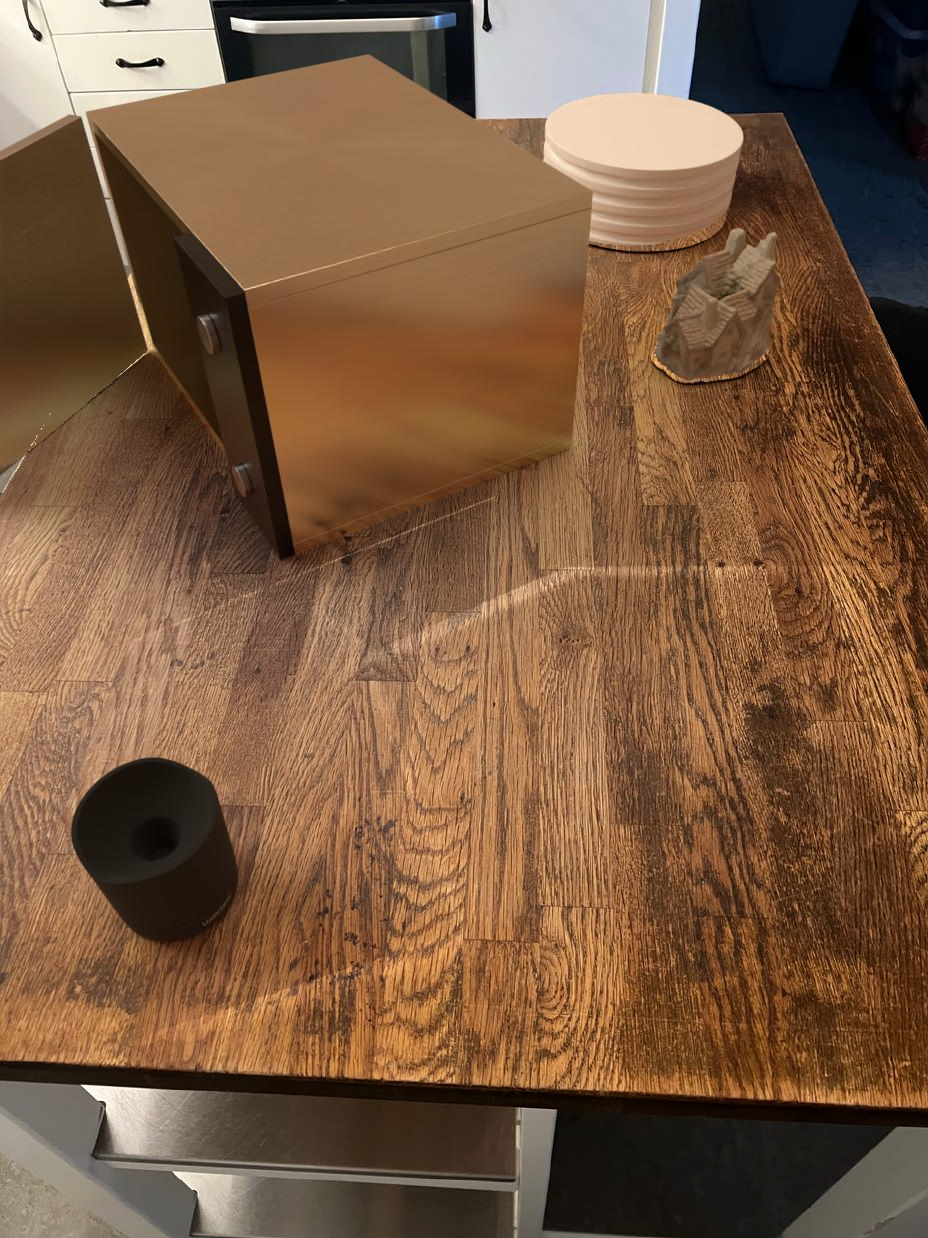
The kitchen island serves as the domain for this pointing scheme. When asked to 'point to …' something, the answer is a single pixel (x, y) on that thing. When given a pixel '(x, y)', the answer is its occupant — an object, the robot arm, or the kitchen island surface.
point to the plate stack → (646, 163)
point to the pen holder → (157, 848)
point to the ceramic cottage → (721, 311)
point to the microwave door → (57, 287)
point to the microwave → (350, 288)
